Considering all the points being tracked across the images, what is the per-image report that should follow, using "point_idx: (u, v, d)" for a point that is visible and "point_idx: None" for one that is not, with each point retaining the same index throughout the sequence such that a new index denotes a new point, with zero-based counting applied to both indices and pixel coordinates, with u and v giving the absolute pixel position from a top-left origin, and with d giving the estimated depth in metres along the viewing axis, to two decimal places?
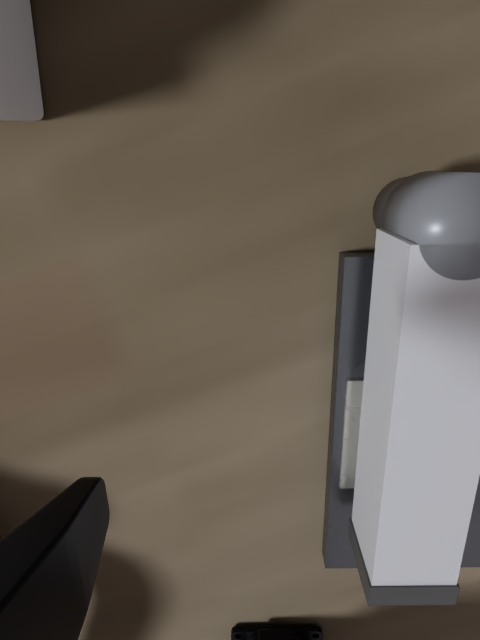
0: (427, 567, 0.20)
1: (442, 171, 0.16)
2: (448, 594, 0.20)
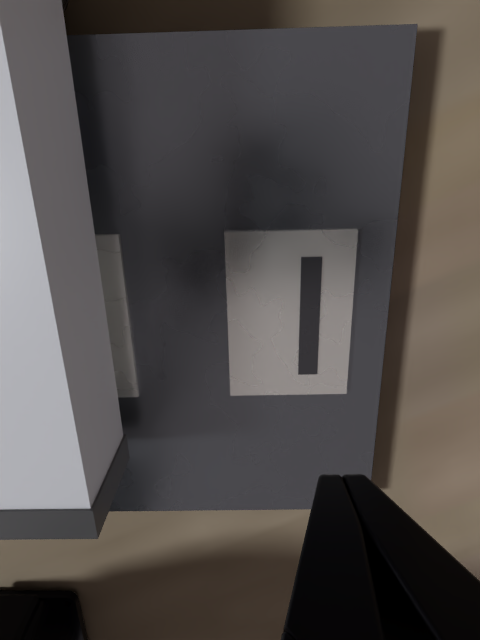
0: (38, 481, 0.14)
1: None
2: (81, 522, 0.14)
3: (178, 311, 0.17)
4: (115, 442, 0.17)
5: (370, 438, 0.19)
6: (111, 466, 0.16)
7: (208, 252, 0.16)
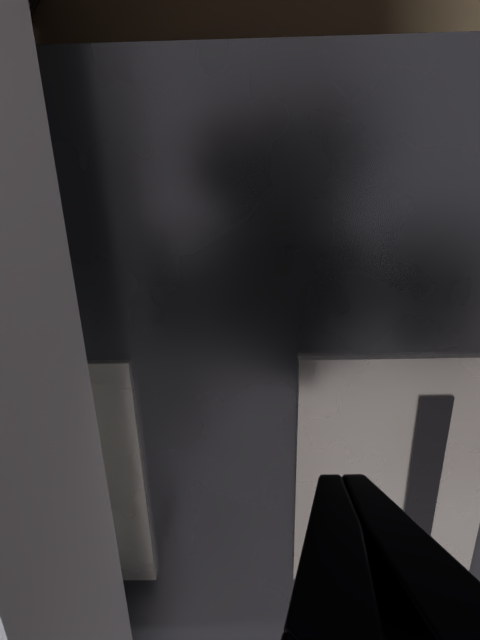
0: None
1: None
2: None
3: (219, 467, 0.11)
4: None
5: None
6: None
7: (270, 386, 0.10)
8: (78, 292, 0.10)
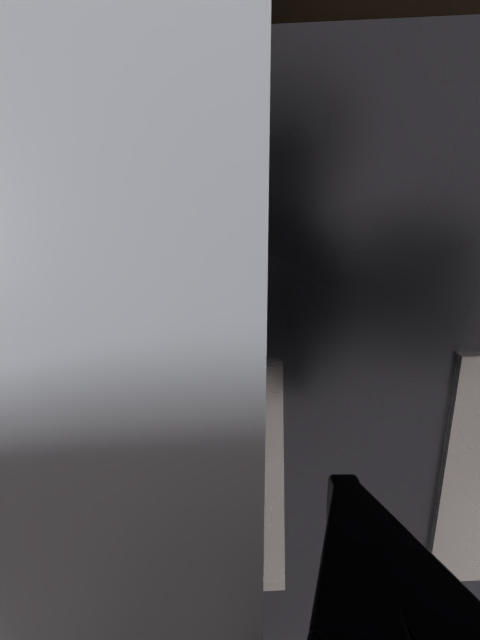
0: None
1: None
2: None
3: (362, 471, 0.11)
4: None
5: None
6: None
7: (425, 385, 0.10)
8: None
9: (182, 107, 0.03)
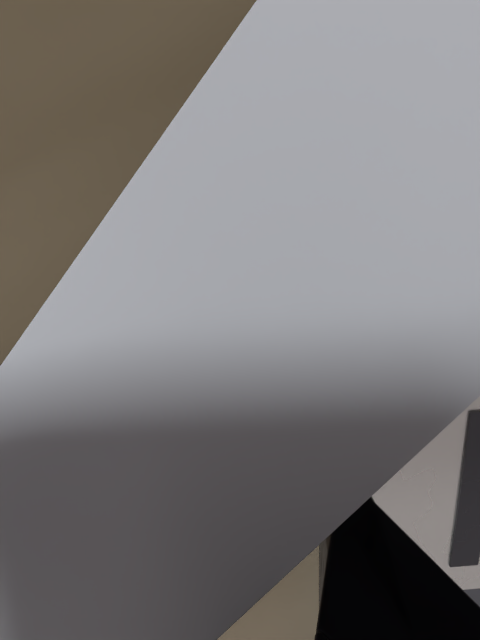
0: None
1: None
2: None
3: None
4: None
5: None
6: None
7: None
8: None
9: None
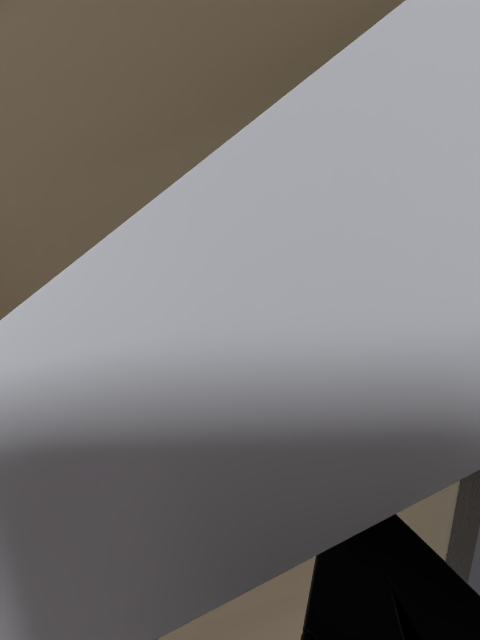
0: None
1: None
2: None
3: None
4: None
5: None
6: None
7: None
8: None
9: None
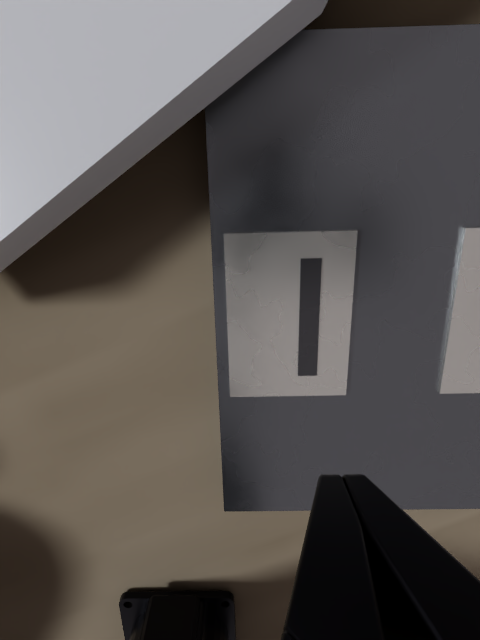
0: None
1: None
2: None
3: (400, 308, 0.17)
4: None
5: None
6: None
7: (442, 248, 0.16)
8: (332, 183, 0.15)
9: (209, 28, 0.09)
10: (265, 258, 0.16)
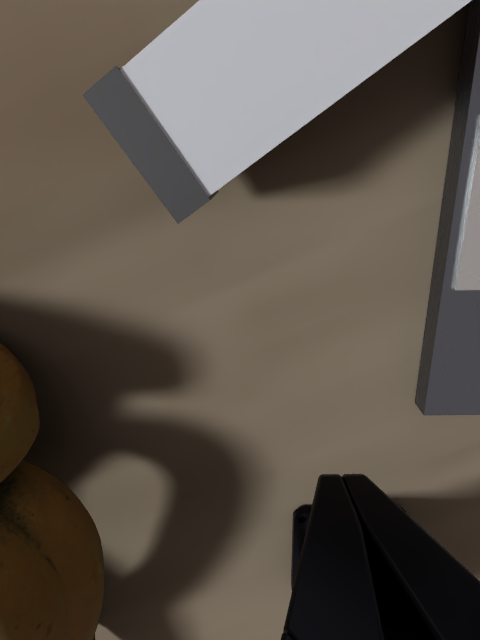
0: (208, 125, 0.12)
1: None
2: (187, 196, 0.12)
3: None
4: None
5: None
6: None
7: None
8: None
9: None
10: None
